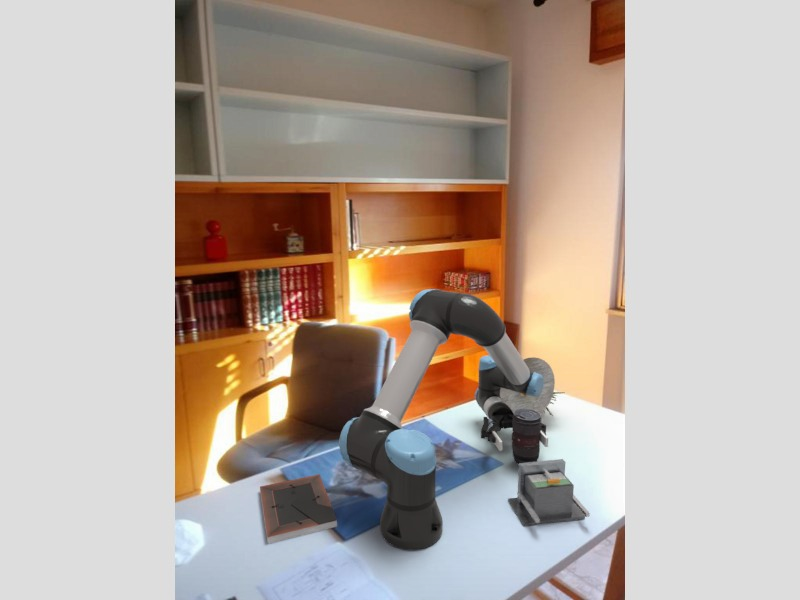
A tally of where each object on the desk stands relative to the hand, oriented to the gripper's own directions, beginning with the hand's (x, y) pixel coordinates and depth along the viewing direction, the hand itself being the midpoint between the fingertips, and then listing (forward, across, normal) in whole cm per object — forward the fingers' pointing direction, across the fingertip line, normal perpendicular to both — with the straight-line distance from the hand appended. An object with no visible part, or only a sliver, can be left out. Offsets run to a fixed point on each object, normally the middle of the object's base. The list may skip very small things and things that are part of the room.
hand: (524, 444), depth 133 cm
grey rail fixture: (+18, 0, -9) cm, 20 cm away
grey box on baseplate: (+16, 0, -10) cm, 19 cm away
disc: (-38, -19, -10) cm, 43 cm away
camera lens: (-5, -3, -8) cm, 10 cm away
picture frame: (+5, +64, -11) cm, 65 cm away
